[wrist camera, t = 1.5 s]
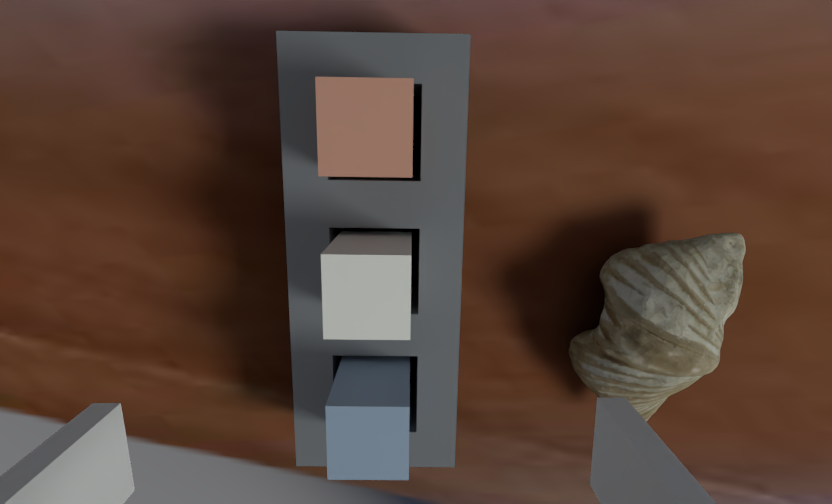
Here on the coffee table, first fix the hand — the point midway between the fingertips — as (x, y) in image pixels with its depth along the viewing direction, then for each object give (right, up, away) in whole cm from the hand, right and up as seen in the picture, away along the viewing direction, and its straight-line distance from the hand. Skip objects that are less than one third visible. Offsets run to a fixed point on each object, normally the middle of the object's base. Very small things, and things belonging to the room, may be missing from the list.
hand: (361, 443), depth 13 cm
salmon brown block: (-1, +13, +16) cm, 20 cm away
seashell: (+18, 0, +24) cm, 30 cm away
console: (-1, +5, +22) cm, 23 cm away
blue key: (-1, -4, +20) cm, 20 cm away
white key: (-1, +4, +18) cm, 18 cm away
